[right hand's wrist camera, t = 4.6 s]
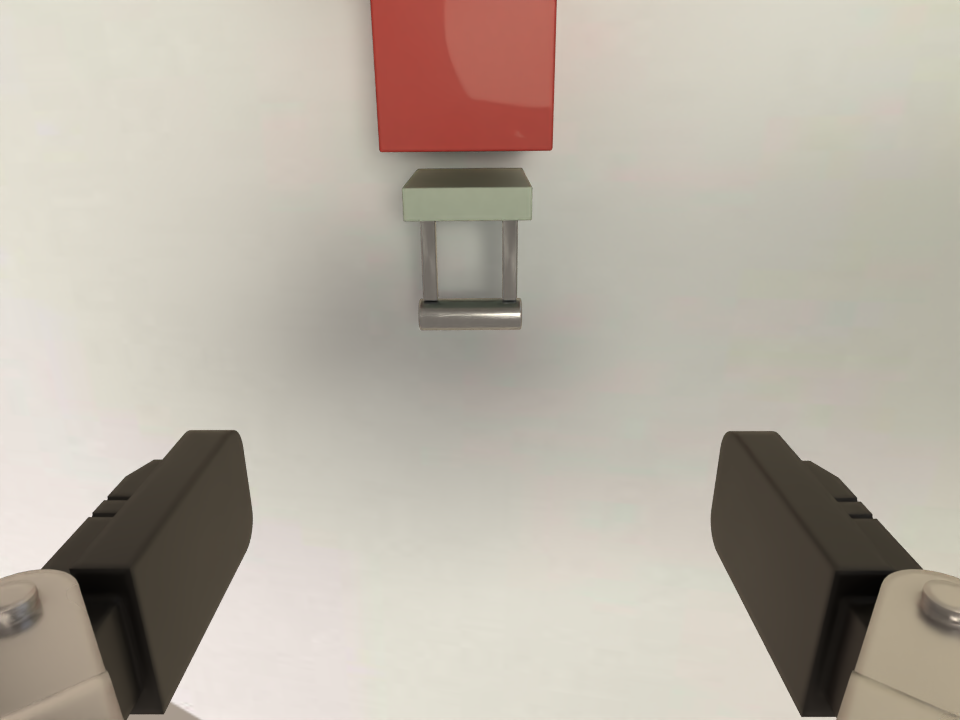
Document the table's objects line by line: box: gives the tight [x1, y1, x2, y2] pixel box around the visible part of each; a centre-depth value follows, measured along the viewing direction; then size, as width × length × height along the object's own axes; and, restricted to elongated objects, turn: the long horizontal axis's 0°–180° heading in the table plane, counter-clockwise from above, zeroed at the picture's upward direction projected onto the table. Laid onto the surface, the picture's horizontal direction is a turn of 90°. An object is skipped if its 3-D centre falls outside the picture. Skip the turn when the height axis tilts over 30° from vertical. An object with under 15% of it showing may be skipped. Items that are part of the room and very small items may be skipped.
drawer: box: [402, 168, 532, 330], centre depth 25 cm, size 23×5×6 cm, turn 1°
